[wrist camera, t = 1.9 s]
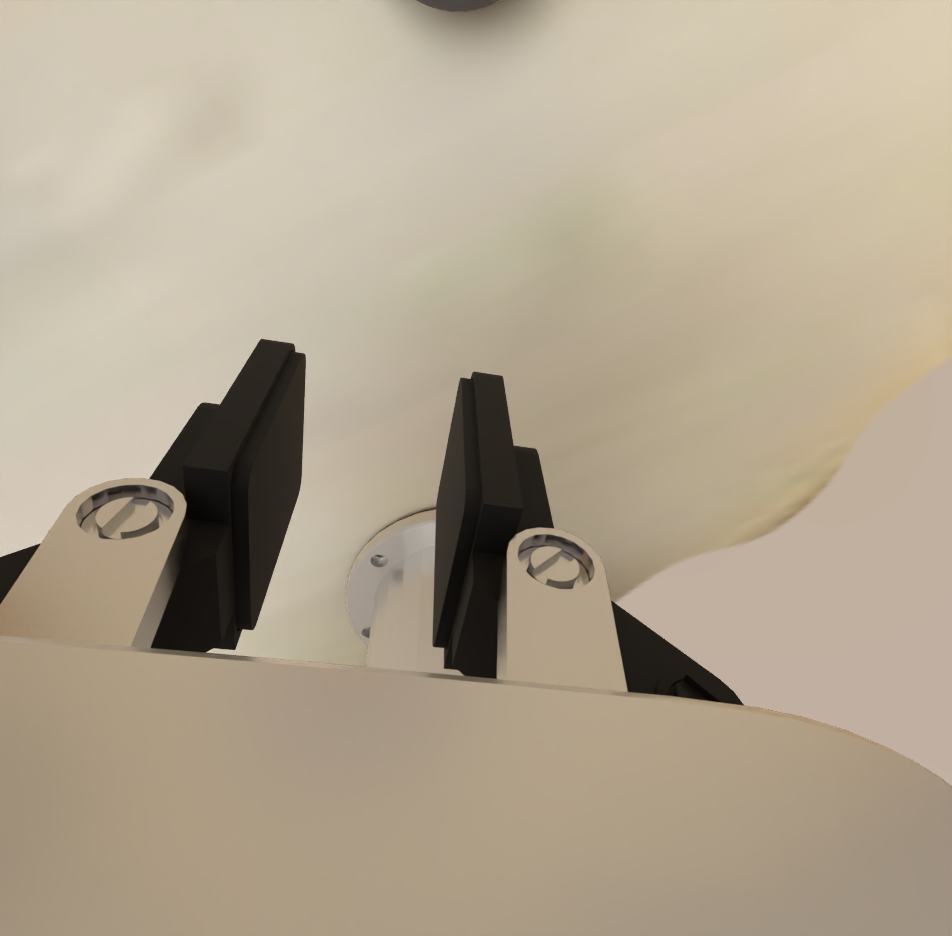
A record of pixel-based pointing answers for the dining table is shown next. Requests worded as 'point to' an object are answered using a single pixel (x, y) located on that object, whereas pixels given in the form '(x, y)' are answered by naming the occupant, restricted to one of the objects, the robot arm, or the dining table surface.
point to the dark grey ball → (457, 4)
